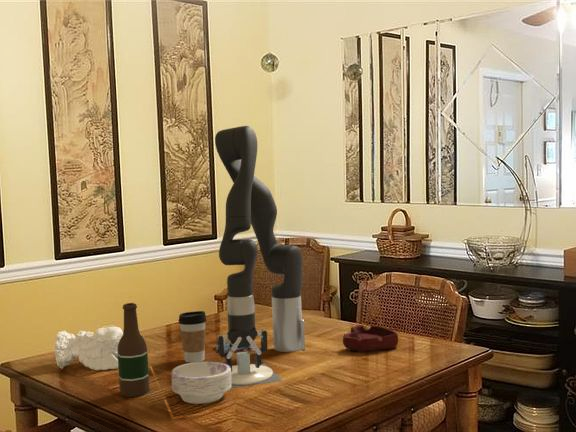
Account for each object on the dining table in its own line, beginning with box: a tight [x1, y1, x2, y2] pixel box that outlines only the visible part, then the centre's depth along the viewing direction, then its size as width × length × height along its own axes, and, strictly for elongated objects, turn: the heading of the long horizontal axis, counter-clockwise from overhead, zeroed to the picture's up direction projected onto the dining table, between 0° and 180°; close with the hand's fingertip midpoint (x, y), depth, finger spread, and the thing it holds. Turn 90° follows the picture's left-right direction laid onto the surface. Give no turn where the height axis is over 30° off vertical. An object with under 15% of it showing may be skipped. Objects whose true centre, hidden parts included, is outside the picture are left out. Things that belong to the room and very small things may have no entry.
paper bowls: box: [171, 361, 232, 405], centre depth 181 cm, size 15×15×8 cm
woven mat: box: [213, 340, 254, 355], centre depth 227 cm, size 10×11×2 cm
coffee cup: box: [178, 310, 207, 363], centre depth 214 cm, size 8×8×15 cm
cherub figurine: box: [53, 326, 123, 371], centre depth 215 cm, size 13×12×20 cm
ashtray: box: [342, 324, 399, 353], centre depth 223 cm, size 18×16×5 cm
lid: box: [231, 351, 274, 386], centre depth 197 cm, size 16×16×6 cm
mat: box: [230, 363, 283, 389], centre depth 197 cm, size 17×17×1 cm
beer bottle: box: [117, 302, 150, 398], centre depth 187 cm, size 8×8×24 cm
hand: (243, 369), depth 197 cm, fingers open, 7 cm apart
